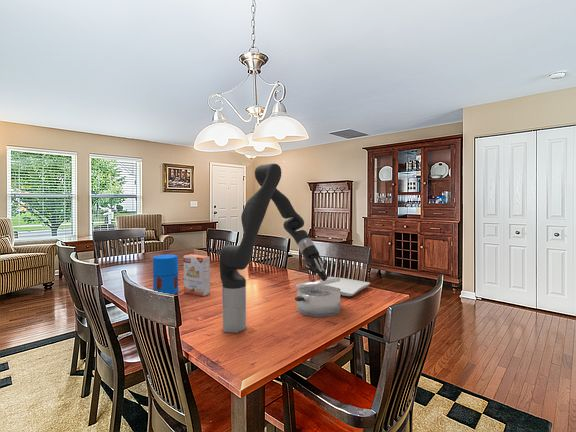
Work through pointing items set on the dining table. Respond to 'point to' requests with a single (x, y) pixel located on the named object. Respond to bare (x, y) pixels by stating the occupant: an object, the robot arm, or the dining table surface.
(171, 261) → the thermos
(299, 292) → the pot
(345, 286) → the square plate
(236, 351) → the dining table surface
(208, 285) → the cracker box
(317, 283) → the lid
